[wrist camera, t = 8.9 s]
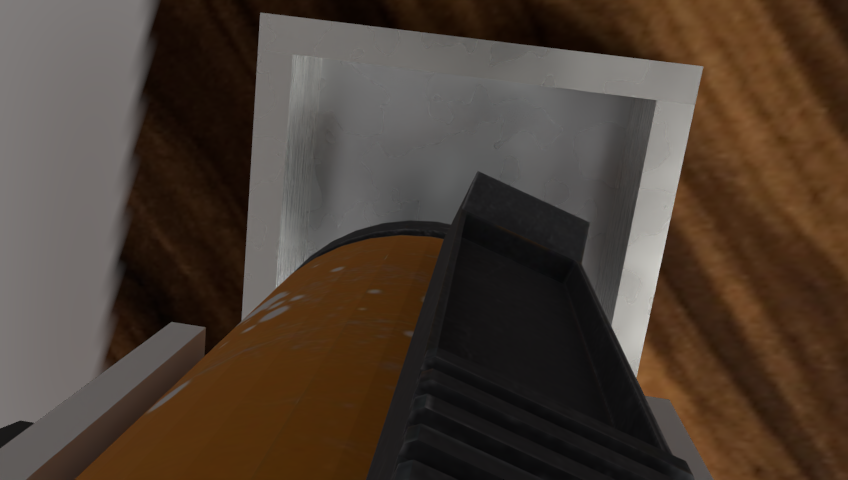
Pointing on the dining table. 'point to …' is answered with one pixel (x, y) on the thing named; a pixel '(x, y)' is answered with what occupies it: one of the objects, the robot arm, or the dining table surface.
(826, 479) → the dining table surface
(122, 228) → the dining table surface
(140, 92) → the dining table surface
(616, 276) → the grey holder tray
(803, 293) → the dining table surface
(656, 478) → the canister
